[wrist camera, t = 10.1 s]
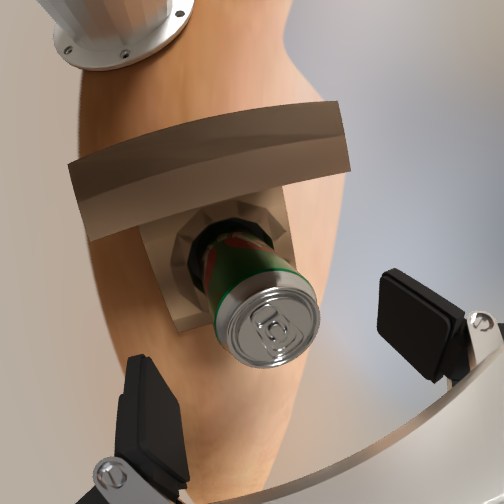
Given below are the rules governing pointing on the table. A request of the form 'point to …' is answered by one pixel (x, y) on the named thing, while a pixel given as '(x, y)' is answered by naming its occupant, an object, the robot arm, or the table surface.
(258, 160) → the socket block
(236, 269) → the soda can
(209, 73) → the table surface
